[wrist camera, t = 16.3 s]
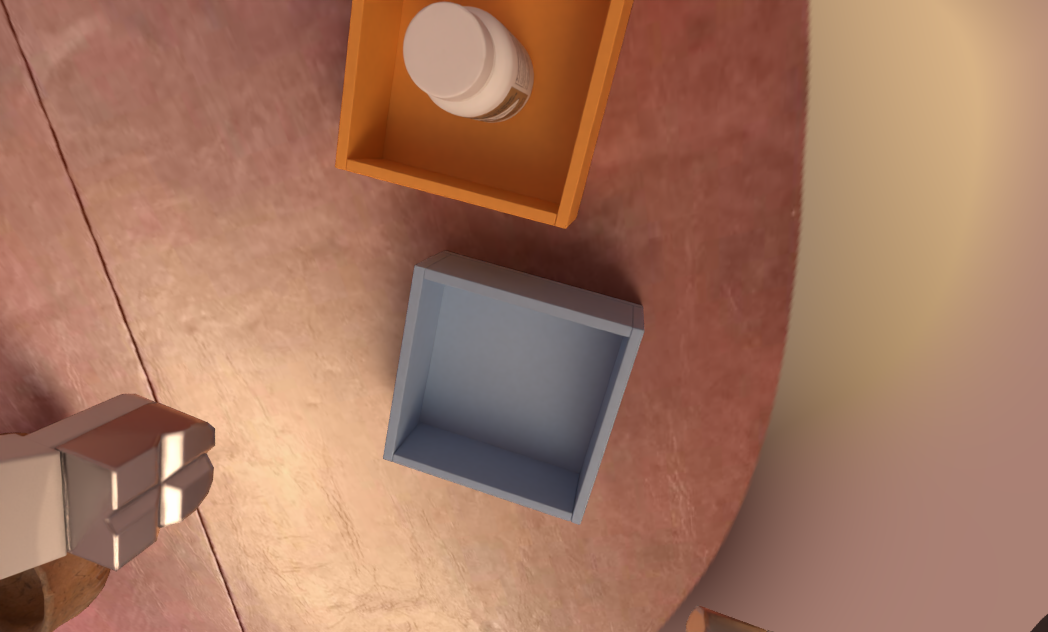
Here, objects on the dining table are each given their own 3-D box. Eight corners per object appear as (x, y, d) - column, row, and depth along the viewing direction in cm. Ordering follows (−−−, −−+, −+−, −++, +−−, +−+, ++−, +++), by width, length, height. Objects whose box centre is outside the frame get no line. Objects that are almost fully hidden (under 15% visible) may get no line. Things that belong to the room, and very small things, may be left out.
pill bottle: (462, 129, 29) (402, 120, 21) (448, 42, 27) (380, 0, 20) (540, 116, 27) (506, 101, 20) (529, 24, 26) (489, -26, 19)
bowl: (-59, 399, 42) (-216, 470, 33) (126, 400, 43) (27, 470, 34) (-5, 576, 47) (-127, 683, 38) (159, 573, 49) (81, 675, 39)
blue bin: (643, 305, 30) (644, 330, 26) (587, 478, 34) (580, 525, 30) (444, 250, 31) (414, 265, 27) (413, 422, 35) (382, 459, 31)
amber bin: (641, -28, 25) (642, -66, 21) (576, 218, 29) (566, 229, 25) (408, -75, 27) (364, -119, 22) (376, 166, 31) (334, 167, 26)
